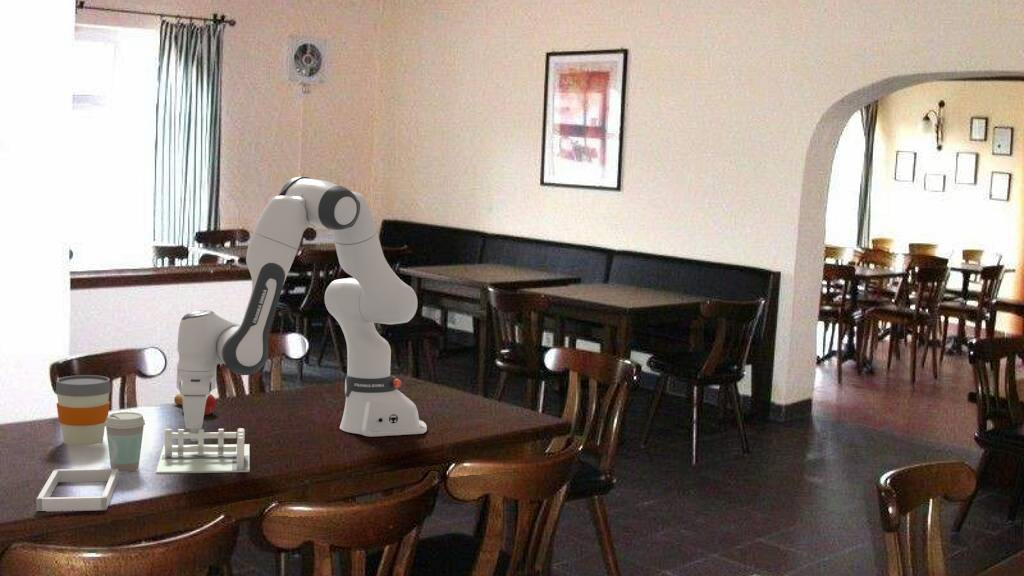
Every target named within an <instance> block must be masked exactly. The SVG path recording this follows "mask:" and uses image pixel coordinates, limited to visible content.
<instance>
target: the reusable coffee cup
mask: <svg viewBox="0 0 1024 576" xmlns="http://www.w3.org/2000/svg"><path fill="white" fill-rule="evenodd" d="M110 379H111V378H109V377H107V376H104V375H103V376H102V375H96V374H95V375H92V374H91V375H90V374H81V375H80V374H79V375H70V376H69V375H68V376H63V377H58V378H57V379H56V382H55V383H56V384H55V394H56V396H57V402H56V409H57V416H58V423H59V424H60V425H61V433H62V439H63V441H62V442H63V444H64V445H68V446H74V447H83V446H85V447H86V446H92V445H94V446H95V445H97V444H101V443H103V442H104V436H105V430H106V428H105V427H106V426H105V421H106V419H107V416H108V415H109V411H110V401H109V398H110V397H109V396H110V393H111V392H112V387H111V380H110Z"/></svg>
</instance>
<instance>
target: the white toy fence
mask: <svg viewBox="0 0 1024 576" xmlns="http://www.w3.org/2000/svg"><path fill="white" fill-rule="evenodd" d="M204 429H205V428H200V429H198V432H190V431H189V432H188V431H187V432H184V430H185V429H184V428H178V429H177V432H173V429H172V428H165V429H164V445H165V456H172V452H178V456H183V452H198V455H204V452H218V455H223V454H224V452H236V446H224V444H225V441H224V440H225V439H237V431H238V430H244V431H245V428H241V427H239V428H237V431H225V428H218V430H217V432H215V431H213V432H211V431H210V432H207V431H206V432H205V430H204ZM197 438H198V441H197V445H198V446H184V445H185V444H184V440H185V439H190V440H191V439H197ZM176 439H177V445H178V446H172V445H173V440H176ZM204 439H217V444H218V446H204V445H205V444H204V443H205V441H204ZM245 439H246V435H245V436H244V441H245Z"/></svg>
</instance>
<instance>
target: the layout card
mask: <svg viewBox="0 0 1024 576" xmlns="http://www.w3.org/2000/svg"><path fill="white" fill-rule="evenodd" d="M172 446H178V444H172ZM184 446H198V444H184ZM204 446H218V443H217V444H204ZM224 446H236V452H224V454H223V455H218V452H204V455H198V452H183V456H178V452H172V456H165V444H163V446H162V450H161V453H160V457H159V461H158V464H157V467H156V471H155V474H160V475H161V474H203V473H204V474H206V473H207V474H209V473H211V474H213V473H215V474H216V473H219V474H220V473H250V443H248V444H247V443H244V469H242V470H238V469H237V443H234V444H233V443H231V444H228V443H226V444H225V443H224Z"/></svg>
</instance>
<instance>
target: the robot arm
mask: <svg viewBox="0 0 1024 576" xmlns="http://www.w3.org/2000/svg"><path fill="white" fill-rule="evenodd" d="M376 225H377V224H376V221H375V218H374V215H373V212H372V209H371V207H370V205H369V202H368V201H367V199H366V197H365V196H364V195H363V194H362V193H360V192H358V191H352V190H350V189H348V188H347V187H345V186H342V185H337V184H335V183H333V182H331V181H328V180H324V179H317V178H311V177H308V176H296V177H293V178H291V179H289V180H288V181H287V182H286V183H285V184H284V186H282V188H281V189H280V192H279V194H278V195H276V196H274V197H273V198H271V199H269V201H268V203H267V204H266V206H265V207H264V209H263V211H262V212H261V215H260V216H259V219H258V220H257V223H256V225H255V227H254V229H253V232H252V234H251V237H250V239H249V243H248V247H247V250H246V251H247V252H246V257H245V262H246V266H247V268H248V271H249V273H250V277H251V286H252V287H251V293H250V297H249V300H248V303H247V306H246V310H245V312H244V315H243V318H242V321H241V324H239V323H235V322H231V320H230V321H229V320H227V319H225V318H224V317H222V316H220V315H218V314H216V313H215V312H214V311H213V310H209V309H206V310H196V311H191V312H188V313H187V314H185V315H184V316H183V317H182V318H181V320H180V322H179V326H178V327H179V328H178V333H177V353H178V363H177V366H176V389H178V391H179V394H181V395H182V397H183V407H182V408H183V409H182V410H183V418H184V425H185V429H187V430H190V431H189V432H198V429H203V423H204V417H205V415H204V411H205V405H206V400H207V397H208V396H209V395H210V394H211V392H213V390H215V389H216V387H217V367H218V365H219V364H222V365H223V364H224V365H225V366H226V367H227V369H229V371H231V372H232V373H234V374H236V375H240V376H250V375H253V374H255V373H257V372H259V371H260V370H261V369H262V368H263V367H264V366H265V364H266V363H267V361H268V359H269V358H268V357H269V349H270V348H269V334H270V329H271V326H272V323H273V319H274V316H275V314H276V310H277V307H278V304H279V300H280V297H281V294H282V291H283V287H284V285H285V281H286V279H287V276H288V274H289V272H290V269H291V267H292V264H293V263H294V260H295V257H296V254H297V252H298V249H299V247H300V244H301V242H302V238H303V234H304V232H305V231H306V230H307V229H308V227H309V226H315V227H320V228H326V229H328V230H331V233H332V237H333V238H332V239H333V243H334V246H335V250H336V256H337V258H338V263H339V265H340V267H341V269H342V270H343V271H344V272H345V273H346V274H348V275H349V276H351V277H347V278H339V279H335V280H333V281H331V282H330V283H329V285H328V286H327V288H326V290H325V293H324V304H325V307H326V310H327V311H328V313H329V314H330V315H331V316H332V317H333V318H334V319H335V320H336V322H337V323H338V325H339V326H340V328H341V331H342V333H343V335H344V339H345V342H346V351H347V353H346V355H347V373H346V374H345V380H344V395H345V402H344V403H345V404H344V410H343V415H342V417H341V418H342V419H341V422H340V424H339V425H340V426H339V429H340V430H341V431H343V432H345V433H351V434H357V435H361V436H365V437H386V436H387V437H388V436H402V435H404V436H405V435H420V434H424V433H426V432H427V431H428V426H427V424H426V422H424V420H421V419H420V418H419V411H418V408H417V406H416V404H415V403H414V402H413V401H412V400H411V399H410V398H409V397H407V396H406V394H404V393H402V392H401V391H400V390H399V389H398V388H400V387H401V386H402V381H401V380H400V379H399V378H397V376H394V375H393V374H391V361H392V360H391V356H392V349H391V345H390V344H389V342H388V340H386V339H385V337H383V336H381V335H380V334H379V332H378V331H377V329H376V325H375V324H384V325H399V324H405V323H408V322H410V321H411V320H412V319H413V318H414V316H415V315H416V313H417V310H418V297H417V294H416V292H415V290H414V288H412V286H410V285H408V284H407V283H405V282H404V281H403V280H402V279H400V277H399V276H398V275H397V274H396V273H395V271H394V270H393V268H391V266H390V265H389V263H388V261H387V259H386V257H385V255H384V251H383V249H382V244H381V241H380V237H379V232H378V230H377V226H376ZM190 441H191V442H198V438H197V439H190Z"/></svg>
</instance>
